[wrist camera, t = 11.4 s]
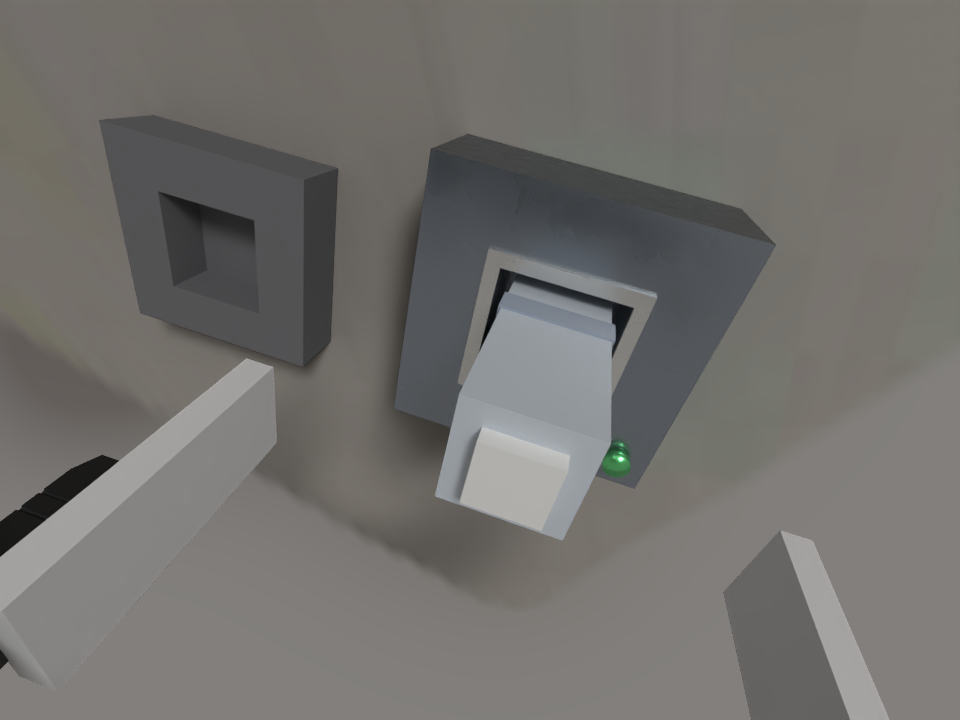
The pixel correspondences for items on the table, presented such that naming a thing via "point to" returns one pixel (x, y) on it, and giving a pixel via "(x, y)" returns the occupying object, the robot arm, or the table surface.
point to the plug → (534, 409)
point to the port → (574, 279)
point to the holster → (226, 235)
